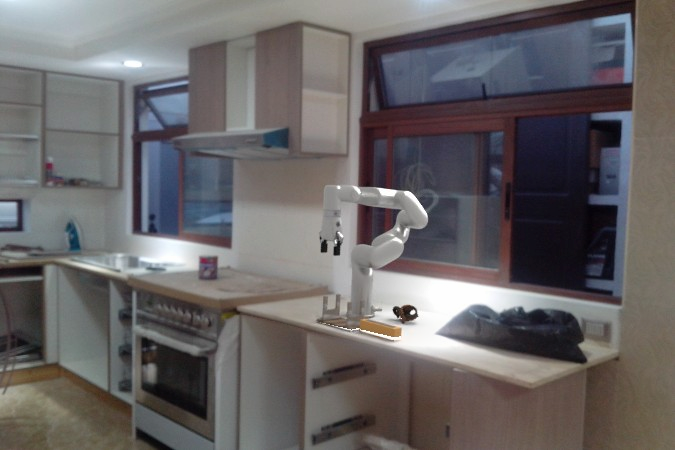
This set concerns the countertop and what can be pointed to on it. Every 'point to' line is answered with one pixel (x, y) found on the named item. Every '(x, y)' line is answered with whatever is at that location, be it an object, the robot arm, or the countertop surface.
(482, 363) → the countertop surface
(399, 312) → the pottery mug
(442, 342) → the countertop surface
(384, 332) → the orange rectangular bar
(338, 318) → the cradle
